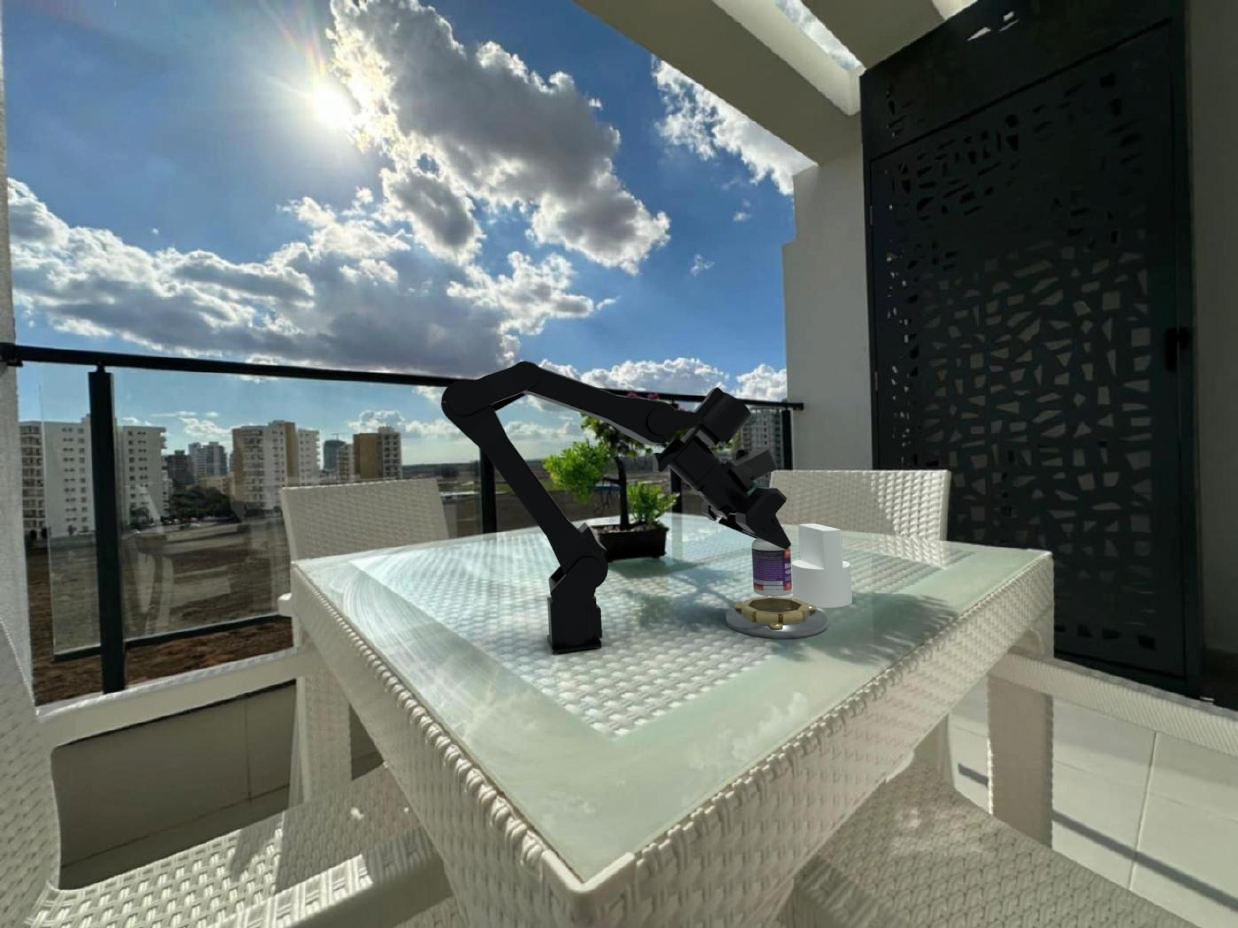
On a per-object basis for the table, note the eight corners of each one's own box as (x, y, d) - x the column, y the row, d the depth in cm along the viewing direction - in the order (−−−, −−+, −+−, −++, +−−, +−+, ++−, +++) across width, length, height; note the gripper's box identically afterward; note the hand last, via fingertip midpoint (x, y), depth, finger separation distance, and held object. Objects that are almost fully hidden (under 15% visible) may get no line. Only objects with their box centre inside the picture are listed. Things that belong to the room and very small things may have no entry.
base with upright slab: (784, 595, 89) (780, 525, 89) (833, 591, 90) (830, 522, 90) (809, 609, 80) (805, 532, 80) (863, 605, 81) (860, 528, 81)
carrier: (757, 644, 66) (756, 625, 66) (710, 615, 80) (709, 598, 80) (849, 630, 70) (849, 611, 70) (790, 603, 84) (789, 588, 84)
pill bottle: (795, 597, 72) (792, 527, 72) (755, 597, 73) (751, 528, 73) (789, 587, 77) (786, 522, 77) (752, 587, 78) (749, 523, 78)
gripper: (768, 424, 65) (852, 507, 67) (717, 433, 84) (784, 498, 85) (711, 490, 64) (798, 573, 66) (671, 484, 82) (740, 549, 84)
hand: (779, 543), depth 75 cm, fingers closed on pill bottle, 5 cm apart
